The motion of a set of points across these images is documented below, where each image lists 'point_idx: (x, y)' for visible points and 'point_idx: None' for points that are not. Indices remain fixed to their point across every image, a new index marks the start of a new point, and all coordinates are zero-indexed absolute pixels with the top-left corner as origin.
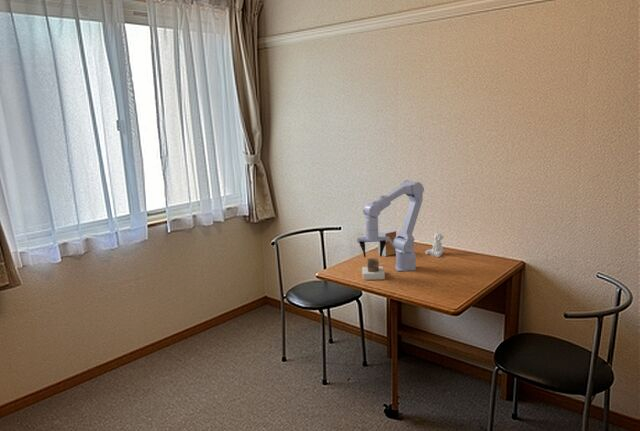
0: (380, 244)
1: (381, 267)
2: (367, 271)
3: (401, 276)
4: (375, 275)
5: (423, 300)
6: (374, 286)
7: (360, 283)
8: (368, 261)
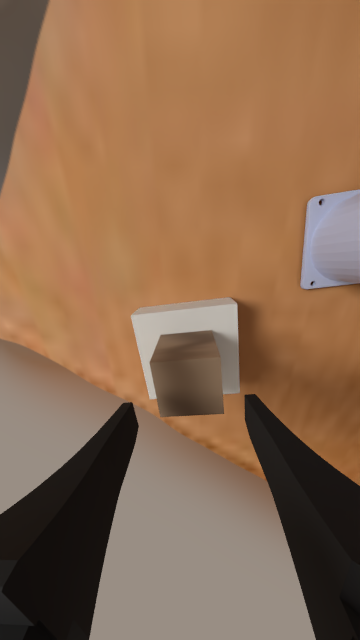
0: (313, 593)
1: (231, 322)
2: None
3: (305, 348)
4: None
5: None
6: (195, 429)
7: (148, 408)
8: (162, 411)
